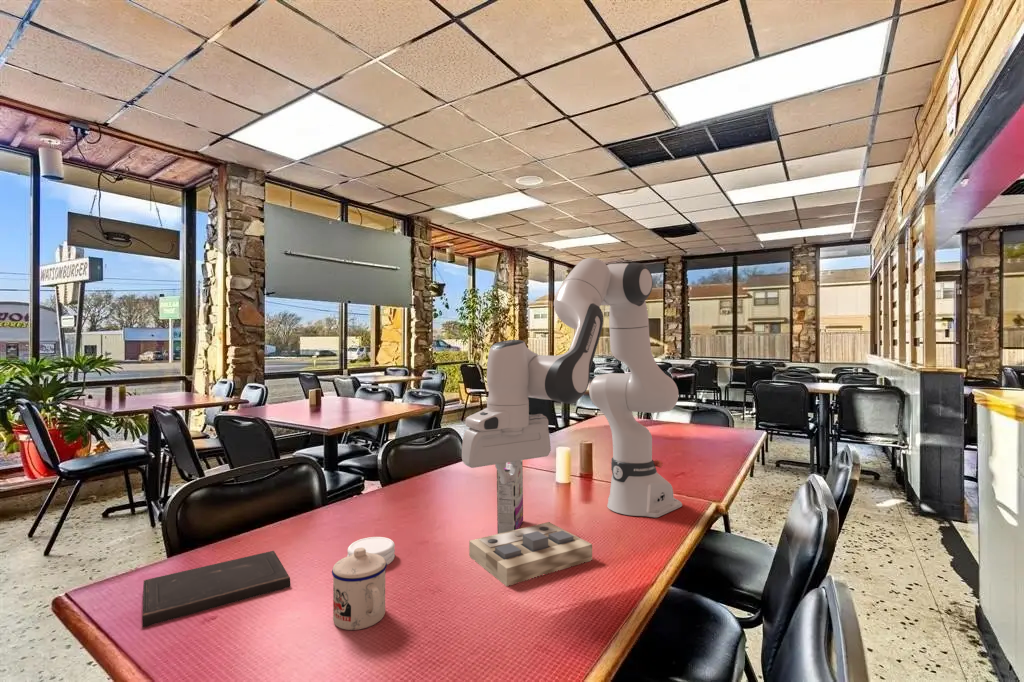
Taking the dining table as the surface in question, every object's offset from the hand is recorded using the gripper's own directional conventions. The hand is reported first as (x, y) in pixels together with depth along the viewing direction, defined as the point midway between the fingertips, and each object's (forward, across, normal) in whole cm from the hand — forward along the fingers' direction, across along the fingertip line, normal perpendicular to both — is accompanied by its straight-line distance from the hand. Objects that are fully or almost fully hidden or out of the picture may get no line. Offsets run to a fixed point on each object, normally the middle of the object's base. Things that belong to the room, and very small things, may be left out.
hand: (508, 482), depth 103 cm
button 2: (+17, -14, 0) cm, 22 cm away
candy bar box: (+19, -13, -20) cm, 30 cm away
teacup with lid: (+18, +31, +3) cm, 36 cm away
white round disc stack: (+18, +23, -20) cm, 36 cm away
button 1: (+17, 0, 0) cm, 17 cm away
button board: (+18, -7, -2) cm, 20 cm away
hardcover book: (+19, +52, -23) cm, 60 cm away
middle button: (+16, -7, 0) cm, 17 cm away
